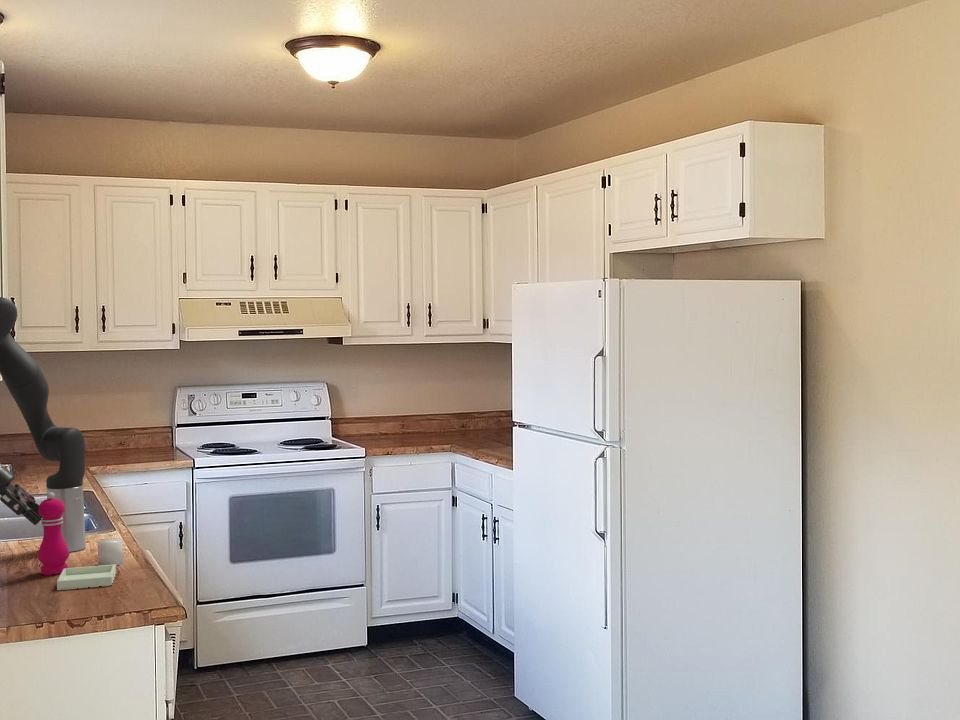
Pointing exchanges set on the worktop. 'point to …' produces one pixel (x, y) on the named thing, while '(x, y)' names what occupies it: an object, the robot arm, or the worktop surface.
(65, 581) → the tray
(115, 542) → the grey rounded block
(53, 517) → the pepper mill
